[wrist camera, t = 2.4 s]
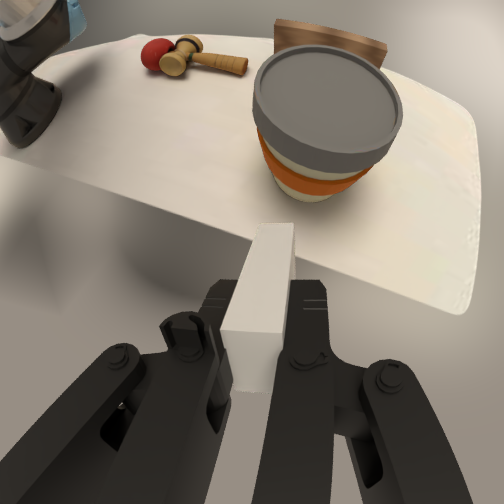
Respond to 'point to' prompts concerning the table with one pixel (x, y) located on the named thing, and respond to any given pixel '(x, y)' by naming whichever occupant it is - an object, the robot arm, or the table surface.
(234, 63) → the kendama
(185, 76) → the table surface
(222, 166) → the table surface
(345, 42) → the board
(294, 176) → the reusable coffee cup
